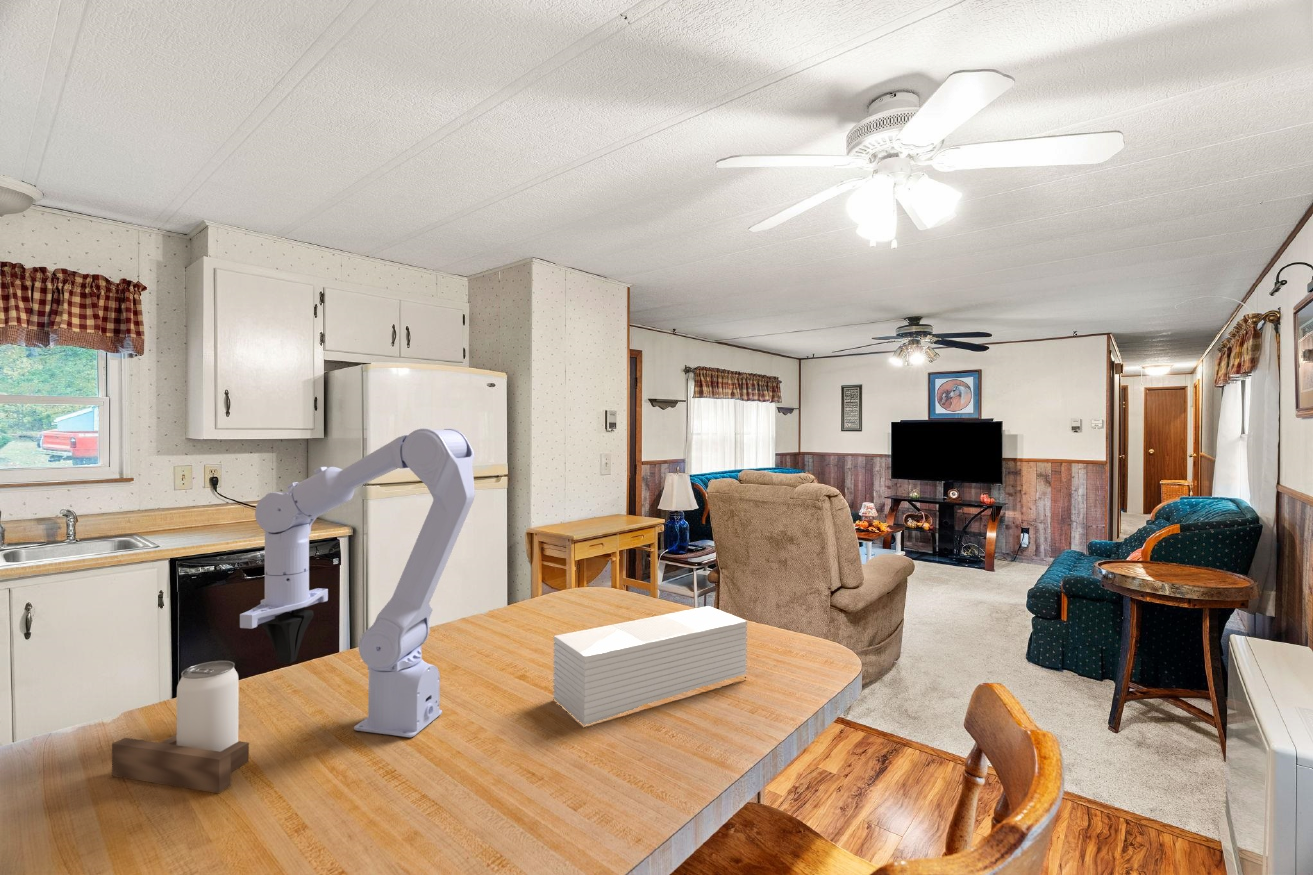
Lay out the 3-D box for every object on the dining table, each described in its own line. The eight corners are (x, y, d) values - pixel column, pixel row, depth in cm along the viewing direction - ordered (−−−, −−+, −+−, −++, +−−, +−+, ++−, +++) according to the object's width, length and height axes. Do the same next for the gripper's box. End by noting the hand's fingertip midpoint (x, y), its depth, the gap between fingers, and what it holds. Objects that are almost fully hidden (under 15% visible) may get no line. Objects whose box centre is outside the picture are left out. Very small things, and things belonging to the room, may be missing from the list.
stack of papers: (708, 662, 117) (708, 605, 117) (746, 681, 108) (747, 620, 108) (553, 702, 99) (553, 635, 98) (584, 729, 90) (584, 656, 90)
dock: (264, 764, 79) (265, 733, 79) (219, 793, 73) (219, 759, 73) (164, 749, 82) (164, 719, 82) (111, 775, 76) (112, 743, 76)
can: (208, 776, 76) (208, 680, 76) (162, 771, 77) (163, 676, 77) (250, 749, 82) (250, 661, 82) (207, 745, 83) (208, 657, 83)
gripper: (301, 560, 100) (301, 643, 100) (221, 581, 86) (221, 677, 86) (339, 562, 99) (339, 646, 99) (264, 584, 84) (264, 682, 84)
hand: (287, 661), depth 92 cm, fingers closed
